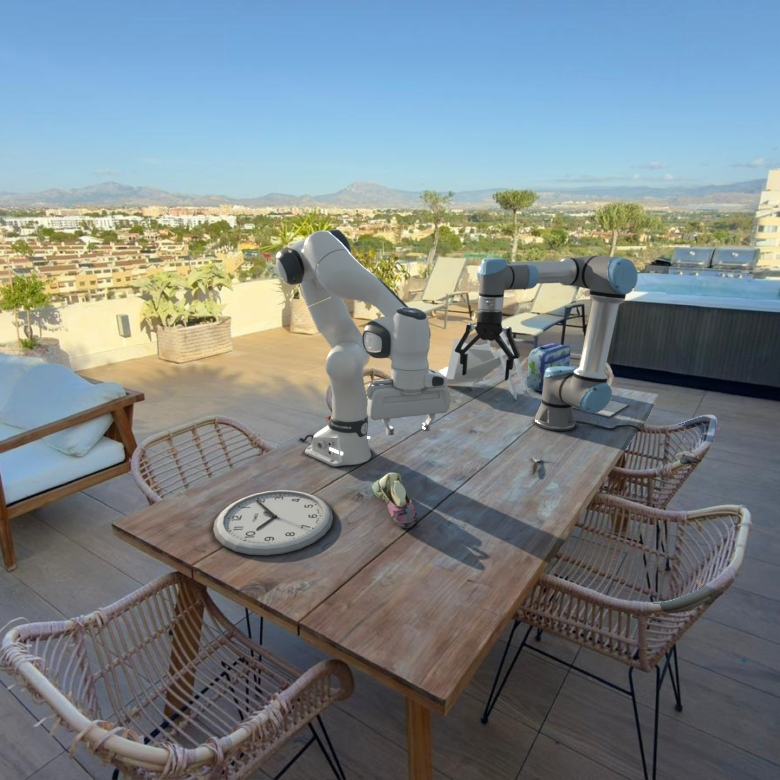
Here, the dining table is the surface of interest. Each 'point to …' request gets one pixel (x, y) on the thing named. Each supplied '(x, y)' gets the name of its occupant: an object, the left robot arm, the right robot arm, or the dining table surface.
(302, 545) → the wall clock
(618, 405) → the invitation card
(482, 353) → the white plastic object
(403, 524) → the shoe
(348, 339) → the left robot arm
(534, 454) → the fork
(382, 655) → the dining table surface
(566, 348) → the lunch box
